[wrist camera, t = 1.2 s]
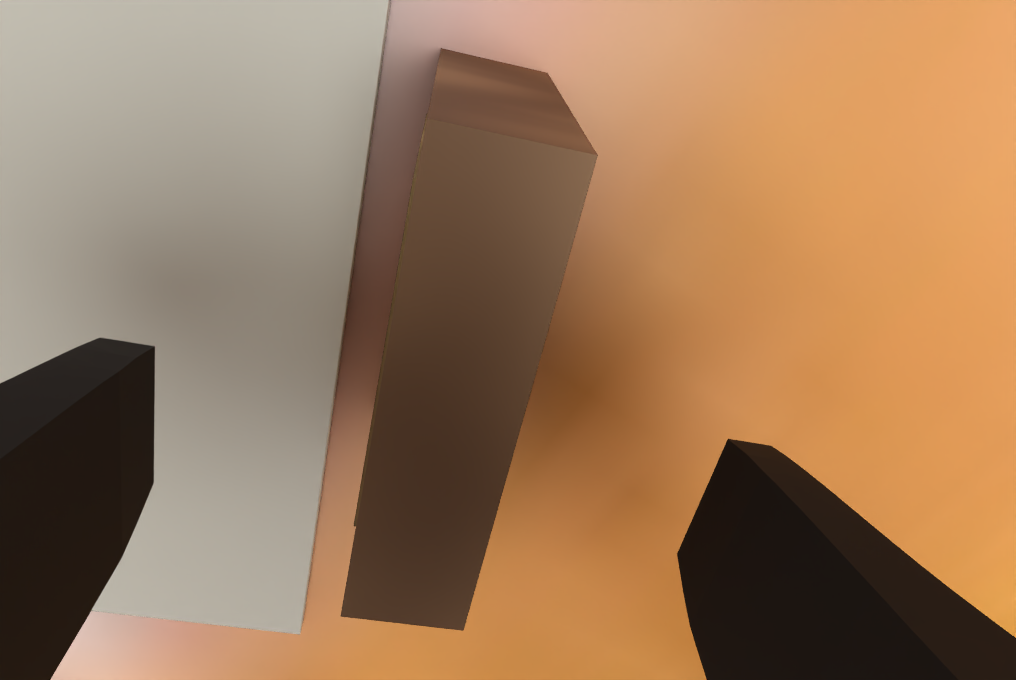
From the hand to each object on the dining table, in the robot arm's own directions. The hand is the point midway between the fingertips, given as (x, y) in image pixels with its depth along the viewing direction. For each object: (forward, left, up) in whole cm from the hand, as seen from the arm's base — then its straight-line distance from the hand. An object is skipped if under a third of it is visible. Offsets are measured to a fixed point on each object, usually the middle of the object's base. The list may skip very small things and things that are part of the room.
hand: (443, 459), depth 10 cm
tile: (0, 0, -7) cm, 7 cm away
